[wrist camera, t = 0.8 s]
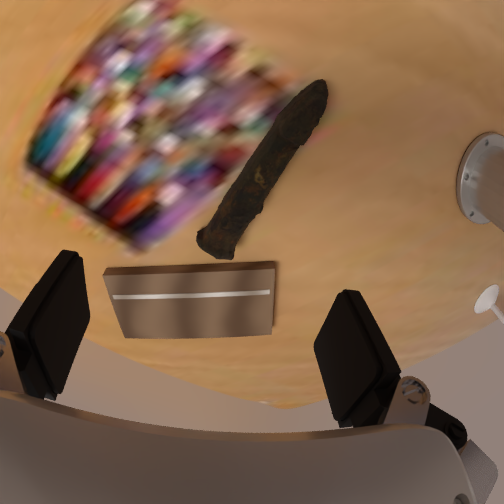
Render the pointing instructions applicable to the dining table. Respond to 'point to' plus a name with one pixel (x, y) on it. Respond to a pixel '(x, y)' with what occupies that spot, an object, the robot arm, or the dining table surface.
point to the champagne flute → (489, 302)
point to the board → (193, 300)
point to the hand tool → (263, 171)
